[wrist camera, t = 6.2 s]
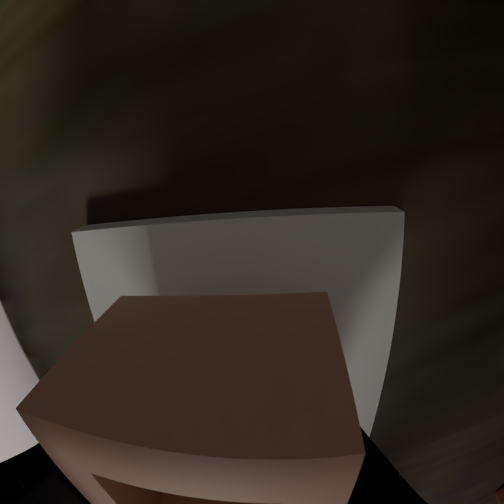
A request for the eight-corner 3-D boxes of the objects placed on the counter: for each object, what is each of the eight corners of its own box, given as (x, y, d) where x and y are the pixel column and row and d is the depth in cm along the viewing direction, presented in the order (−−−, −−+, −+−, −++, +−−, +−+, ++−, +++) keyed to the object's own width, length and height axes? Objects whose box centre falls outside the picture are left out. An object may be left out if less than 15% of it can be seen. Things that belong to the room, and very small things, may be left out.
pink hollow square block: (316, 445, 10) (320, 561, 5) (169, 439, 11) (131, 540, 6) (327, 291, 8) (365, 453, 3) (121, 295, 9) (16, 408, 4)
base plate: (337, 512, 16) (338, 523, 15) (192, 509, 18) (190, 519, 17) (393, 205, 9) (404, 211, 9) (86, 225, 11) (71, 232, 10)
